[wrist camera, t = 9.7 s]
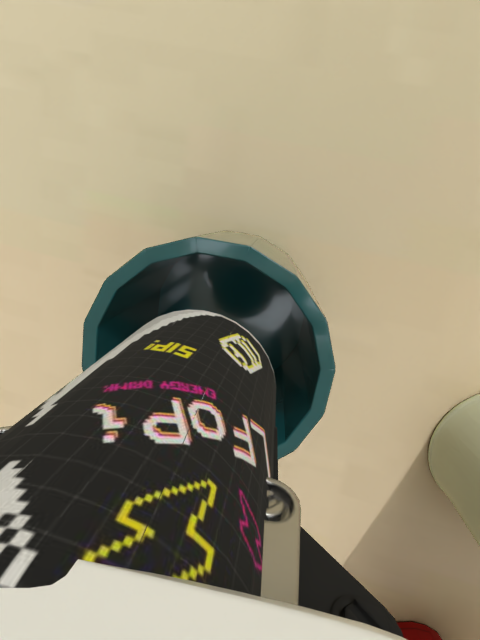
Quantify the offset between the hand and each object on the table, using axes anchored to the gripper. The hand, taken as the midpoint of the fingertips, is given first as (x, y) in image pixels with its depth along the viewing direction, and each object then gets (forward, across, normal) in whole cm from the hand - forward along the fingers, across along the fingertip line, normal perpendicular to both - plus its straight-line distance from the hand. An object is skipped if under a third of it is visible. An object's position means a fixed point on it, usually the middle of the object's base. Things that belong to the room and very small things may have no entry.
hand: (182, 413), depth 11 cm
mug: (+12, 0, +2) cm, 13 cm away
